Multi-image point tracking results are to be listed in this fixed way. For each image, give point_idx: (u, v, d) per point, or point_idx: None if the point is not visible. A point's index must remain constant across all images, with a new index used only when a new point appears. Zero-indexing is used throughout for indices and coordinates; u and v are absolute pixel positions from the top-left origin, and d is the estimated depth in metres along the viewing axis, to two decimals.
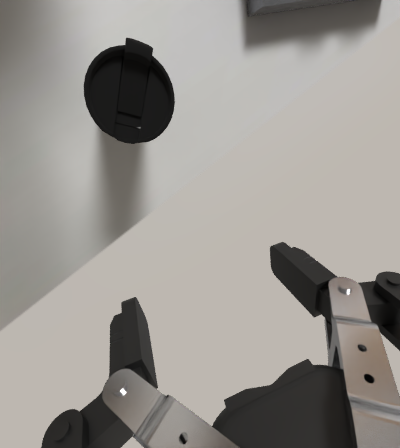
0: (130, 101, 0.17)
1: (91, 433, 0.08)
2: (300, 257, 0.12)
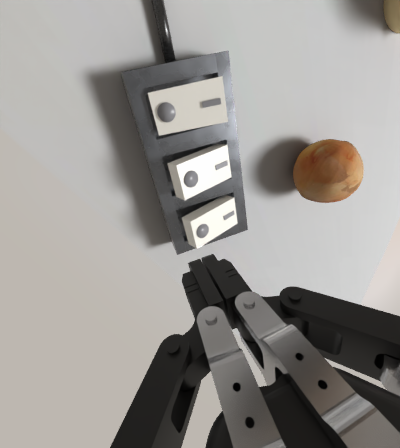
0: None
1: (190, 365, 0.09)
2: (222, 270, 0.12)
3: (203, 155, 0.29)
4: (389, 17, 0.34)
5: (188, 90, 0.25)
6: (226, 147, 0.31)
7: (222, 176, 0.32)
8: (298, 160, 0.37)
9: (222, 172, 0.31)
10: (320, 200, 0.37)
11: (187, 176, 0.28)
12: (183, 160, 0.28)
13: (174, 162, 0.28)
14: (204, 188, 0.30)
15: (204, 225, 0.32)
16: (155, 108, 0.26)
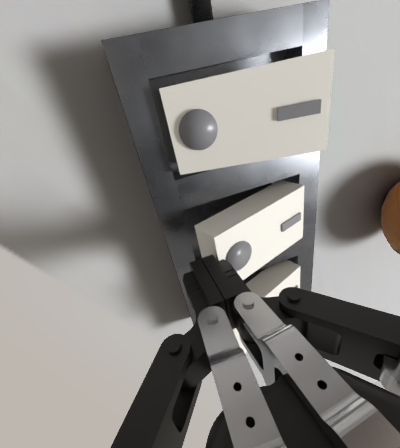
0: None
1: (191, 364, 0.09)
2: (221, 270, 0.12)
3: (263, 210, 0.15)
4: None
5: (250, 83, 0.11)
6: (302, 190, 0.16)
7: (289, 239, 0.18)
8: (397, 197, 0.23)
9: (290, 233, 0.17)
10: None
11: (232, 254, 0.14)
12: (226, 222, 0.14)
13: (208, 225, 0.14)
14: (259, 265, 0.17)
15: None
16: (175, 121, 0.12)
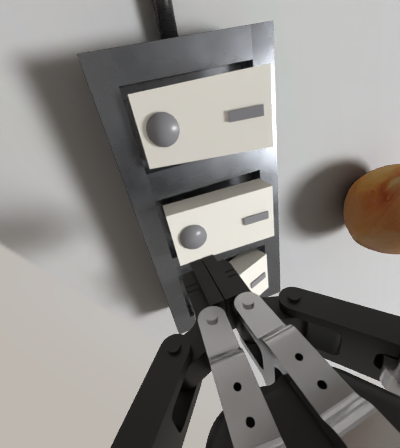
0: None
1: (191, 364, 0.09)
2: (221, 270, 0.12)
3: (220, 202, 0.17)
4: None
5: (204, 90, 0.13)
6: (269, 190, 0.17)
7: (256, 234, 0.19)
8: (355, 193, 0.26)
9: (256, 229, 0.19)
10: (388, 252, 0.25)
11: (185, 234, 0.17)
12: (184, 206, 0.17)
13: (171, 207, 0.17)
14: (218, 251, 0.19)
15: None
16: (142, 122, 0.14)
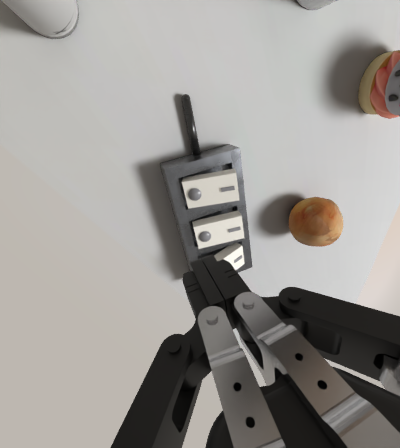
0: None
1: (191, 364, 0.09)
2: (221, 270, 0.12)
3: (217, 222, 0.38)
4: (363, 105, 0.44)
5: (211, 181, 0.35)
6: (240, 217, 0.39)
7: (235, 236, 0.40)
8: (292, 212, 0.47)
9: (235, 234, 0.40)
10: (310, 245, 0.47)
11: (201, 235, 0.39)
12: (201, 223, 0.39)
13: (195, 222, 0.39)
14: (216, 243, 0.40)
15: None
16: (186, 191, 0.36)
